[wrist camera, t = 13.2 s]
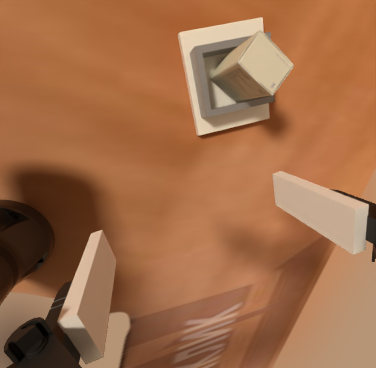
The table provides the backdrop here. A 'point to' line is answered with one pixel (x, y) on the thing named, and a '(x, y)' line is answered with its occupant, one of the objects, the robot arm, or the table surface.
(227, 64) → the skincare box
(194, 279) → the table surface
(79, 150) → the table surface
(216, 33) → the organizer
